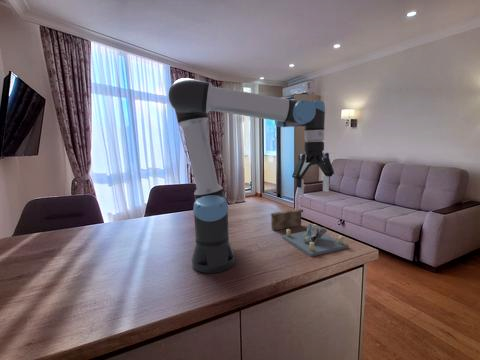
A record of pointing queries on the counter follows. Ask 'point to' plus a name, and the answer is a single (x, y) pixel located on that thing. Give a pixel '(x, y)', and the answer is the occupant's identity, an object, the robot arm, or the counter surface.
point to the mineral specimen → (313, 233)
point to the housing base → (321, 245)
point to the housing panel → (286, 219)
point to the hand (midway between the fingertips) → (313, 193)
